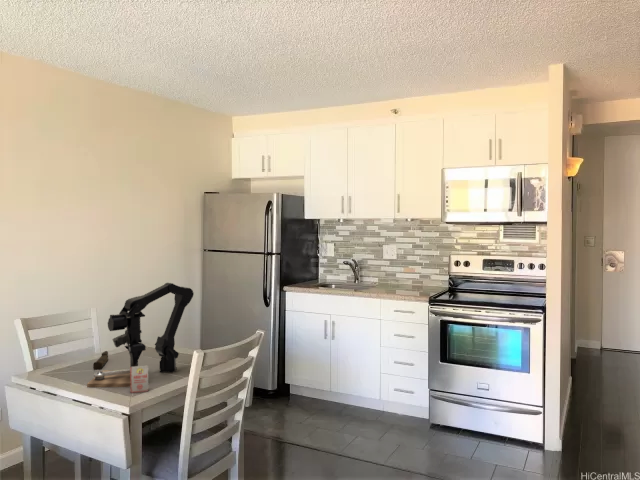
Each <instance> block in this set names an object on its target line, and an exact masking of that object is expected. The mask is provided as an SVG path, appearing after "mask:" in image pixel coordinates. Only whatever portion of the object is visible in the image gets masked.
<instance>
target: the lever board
mask: <svg viewBox="0 0 640 480" xmlns="http://www.w3.org/2000/svg"><path fill="white" fill-rule="evenodd" d="M101 371H102V372H107V371H115V369H114V370H113V369H112V370H111V369H110V370H109V369H108V370H104V369H103V370H101ZM86 385H87V388H131V387H130V373H126V374H118V375H110V376H104V377H98V378H97V377H93V378H92V379H90V380H89V381H88V382H87V383H86Z"/></svg>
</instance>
